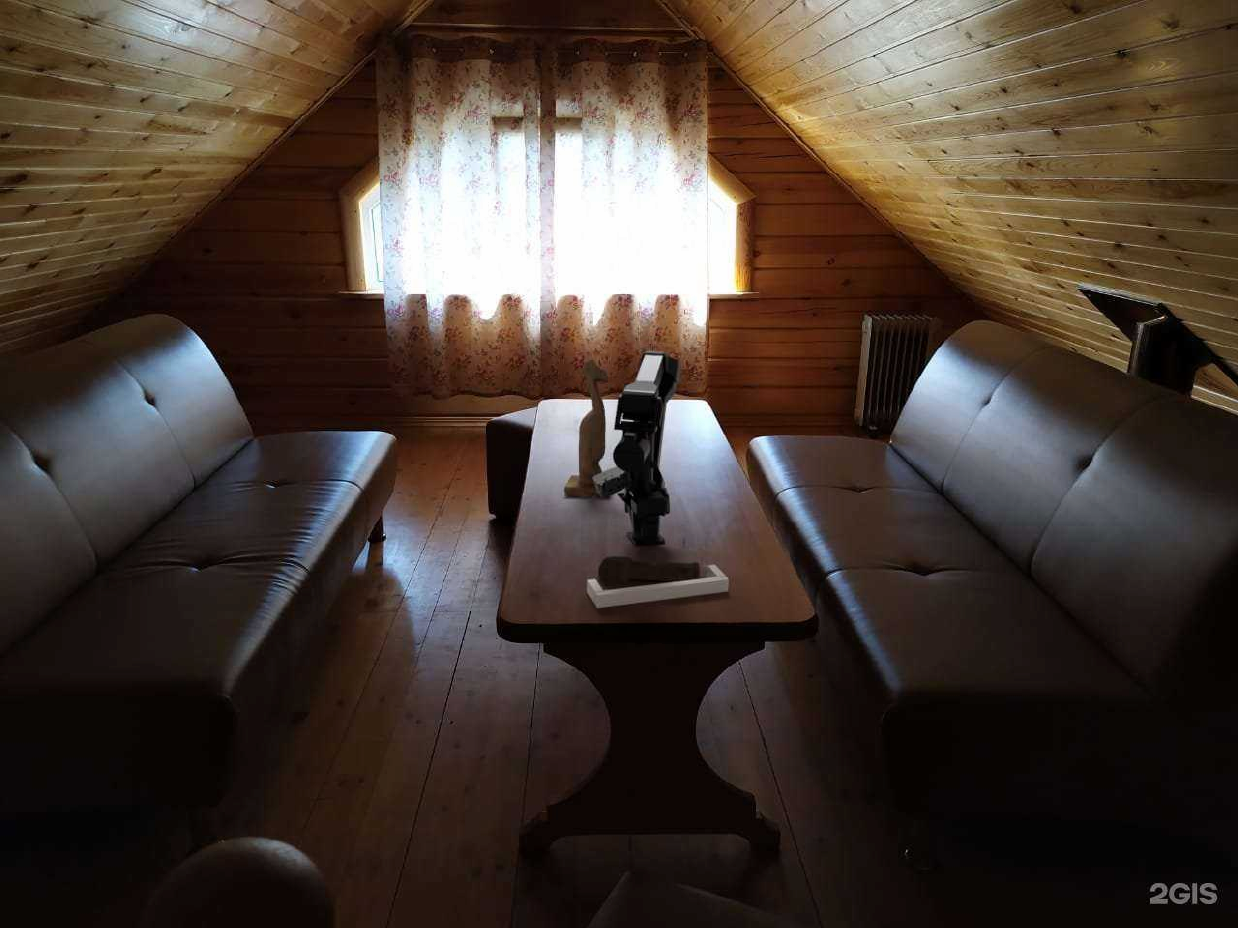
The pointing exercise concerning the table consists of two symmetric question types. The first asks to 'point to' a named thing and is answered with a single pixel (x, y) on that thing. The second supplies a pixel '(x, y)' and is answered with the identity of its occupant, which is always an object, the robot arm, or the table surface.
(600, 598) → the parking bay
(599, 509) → the table surface
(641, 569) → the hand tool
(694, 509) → the table surface
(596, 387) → the bird sculpture
